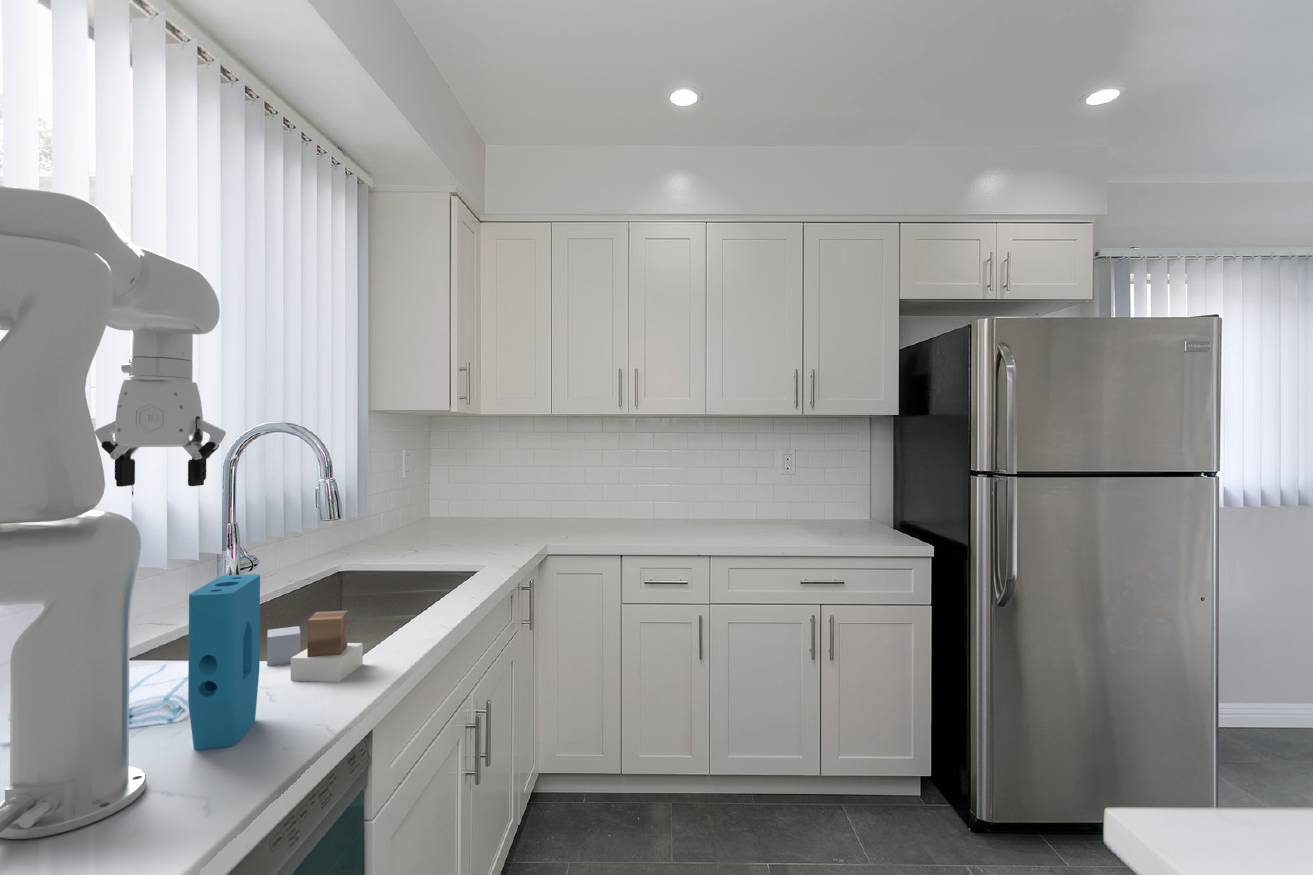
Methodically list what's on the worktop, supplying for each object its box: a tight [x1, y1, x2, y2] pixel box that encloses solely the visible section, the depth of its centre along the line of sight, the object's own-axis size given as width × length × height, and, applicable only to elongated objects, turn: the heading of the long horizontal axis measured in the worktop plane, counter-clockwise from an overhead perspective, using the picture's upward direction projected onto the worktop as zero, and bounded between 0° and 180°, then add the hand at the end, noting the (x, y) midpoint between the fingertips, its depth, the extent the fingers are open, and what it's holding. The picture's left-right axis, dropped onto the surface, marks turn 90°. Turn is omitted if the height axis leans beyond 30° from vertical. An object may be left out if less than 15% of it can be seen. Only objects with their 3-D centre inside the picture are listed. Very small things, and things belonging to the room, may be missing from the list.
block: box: [187, 573, 261, 751], centre depth 87 cm, size 12×5×20 cm, turn 16°
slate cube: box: [266, 625, 301, 667], centre depth 116 cm, size 5×5×5 cm
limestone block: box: [290, 642, 364, 683], centre depth 110 cm, size 8×8×4 cm
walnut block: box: [307, 610, 349, 657], centre depth 110 cm, size 5×5×6 cm
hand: (161, 485), depth 99 cm, fingers open, 9 cm apart
